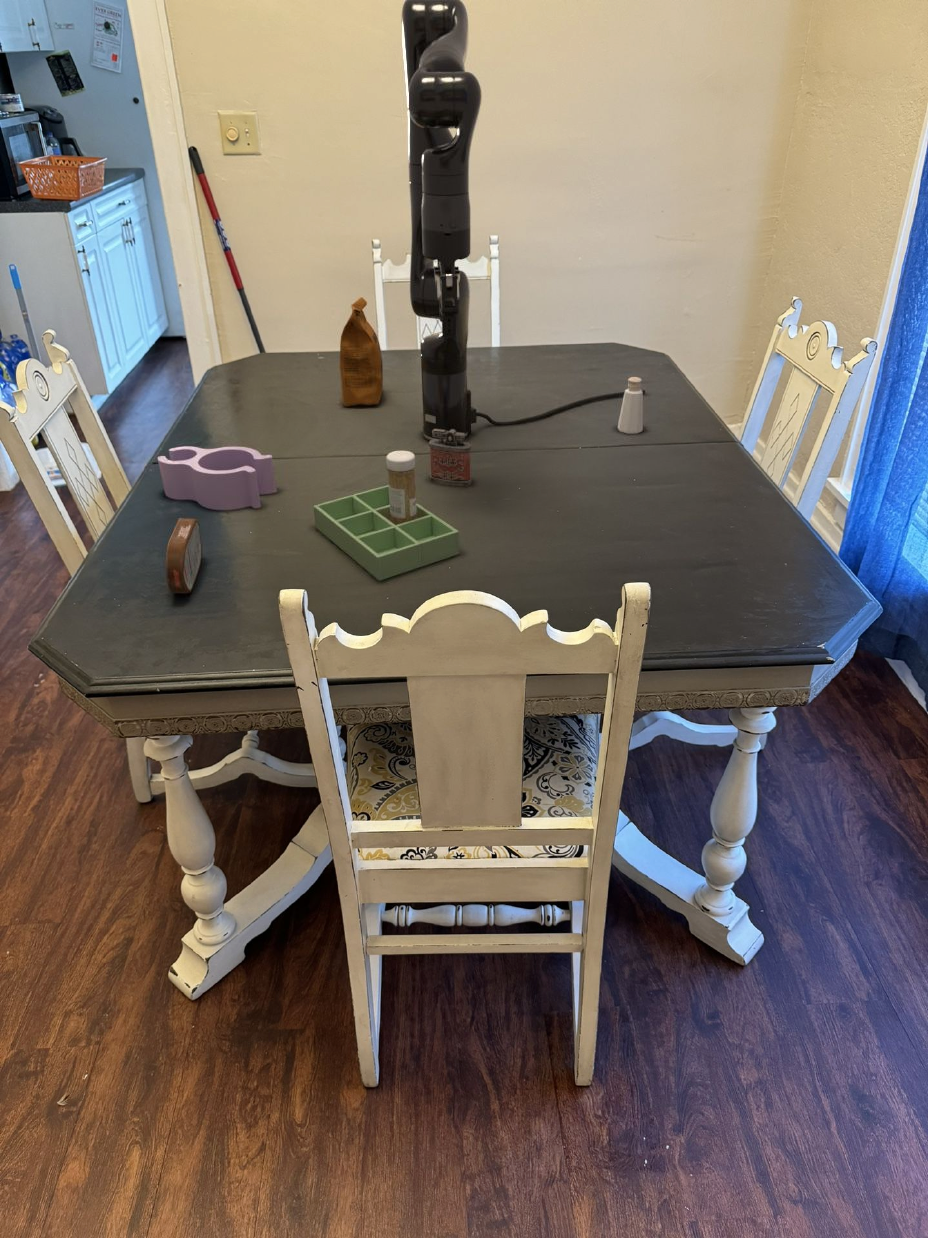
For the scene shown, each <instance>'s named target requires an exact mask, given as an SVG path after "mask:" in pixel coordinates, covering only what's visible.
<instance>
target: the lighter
mask: <svg viewBox="0 0 928 1238" xmlns="http://www.w3.org/2000/svg"><path fill="white" fill-rule="evenodd" d="M432 436H433V437H437V438H439V439H434V440H431V441H429V440H428V441H429V442H428V447H429V448H430V449H429V455H430V457H429V458H430V459H429V461H430V474H429V480H430V482H432V483H436V484H441V485H448V486H456V487H467V486H470V485H471V484H472V477H471V451H472V444H471V443H469V442H465V439H466V438H465V434H464V433H459V432H456V430H454V429H451V430H450V431H446V430H440V429H434V430H433V431H432ZM444 438H445V439H446V440H444Z"/></svg>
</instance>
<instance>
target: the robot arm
mask: <svg viewBox="0 0 928 1238" xmlns="http://www.w3.org/2000/svg"><path fill="white" fill-rule="evenodd" d="M400 22H401V42H402V57H403V67H404V77H405V79H404V80H405V91H406V104H407V107H406V108H407V136H408V137H407V153H408V154H407V155H408V156H407V158H408V159H407V160H408V161H407V162H408V164H407V165H408V187H409V202H410V224H411V225H410V227H411V230H410V232H411V243H410V244H411V245H410V268H409V298H410V305H411V309H412V311H413V313H414V314H415V315H416V316H417V317H420V318H426V319H433V320H434V319H435V320H439V322H440V323H441V331H439V332H435V333H432V334H429V335H426V336H425V337H423V338H422V339H421V342H420V369H421V396H422V397H421V399H422V424H423V426H422V429H423V430H422V436H423V438H424V439H425V440H427V441H431V440H434V439H439V438H437V437H433V436H432V431H433V430H434V429H440V430H446V431H450V430H451V429H454V430H456V432H459V433H464V434H465V439H466V438H468V436H471V435H472V424H476V423H477V421H478V419H477V417H480V418H483V419H485V420H487V422H488V423H490V424H491V425H493V426H498V427H500V426H501V427H502V426H514V425H519V424H524V423H528V422H532V421H537V420H540V419H543V418H546V417H548V416H551V415H553V414H556V413H560V412H562V411H565V410H567V409H570V408H573V407H576V406H580V405H583V404H586V403H590V402H595V401H599V400H603V399H610V398H615V397H616V398H617V397H624V393H625V391H619V392H613V393H607V394H601V395H596V396H592V397H588V398H584V399H580V400H576V401H574V402H571V403H567V404H565V405H562V406H559V407H557V408H554V409H551V410H548V411H545V412H544V413H540V414H538V415H533V416H528V417H525V418H524V417H523V418H521V419H516V420H512V421H496V420H494V419H492V418H491V417H490V416H489V415H488V414H486V413H483V412H479V411H477V408H475V407H472V391H471V390H470V389H468V354H467V353H468V340H469V326H470V325H469V321H470V320H469V319H470V301H471V300H470V299H471V298H470V297H471V290H470V281H469V277H468V275H467V273H466V272H464V271H463V270H461V269H460V267H459V266H456V264H455V263H456V262H457V261H459V260H460V261H461V260H465V259H468V257H470V256H471V201H470V192H469V191H470V155H471V147H472V143H473V138H474V137H473V136H474V134H475V129H476V126H477V122H478V118H479V114H480V112H481V111H480V110H481V106H482V98H483V97H482V96H483V95H482V88H481V85H480V82H479V80H478V78H477V77H476V76H475V74H473V73H472V72H469V71H466V68H465V64H466V59H467V56H468V55H467V54H468V49H469V33H470V31H469V16H468V12H467V8H466V5H465V4H464V2H463V1H462V0H405V1H404V2H403V4H402V8H401V21H400ZM450 129H456V131H455V135H454V136H453V134H452V132H451V131H450ZM435 261H436V264H437V265H436V266H435ZM641 390H642V392H643V395H644V394H646V390H645V389H641ZM444 440H446V439H445V438H444Z"/></svg>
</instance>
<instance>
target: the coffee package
mask: <svg viewBox="0 0 928 1238" xmlns="http://www.w3.org/2000/svg"><path fill="white" fill-rule="evenodd" d="M367 305H368V301H366V299H365V298H364V297H358V299H356V301H354V303H351V304H350V306H351V307H350V308H351V311H352V312H351V314H350V315H349V318H348V320H347V321H346V323H345V325H344V326H343V328H342V332H341V335H340V342H339V372H340V373H339V374H340V388H341V401H342V405H343V406H344V407H354V406H355V407H356V406H372V405H378V404H379V403H380V401H381V398H382V394H383V389H384V386H383V383H384V379H383V377H384V376H383V375H384V374H383V373H384V371H383V370H384V367H383V357H382V356H383V355H382V350H381V349H382V348H381V345H380V341H379V337H378V335H377V333H376V331H375V330H374V328H373V327H372V325H371V323H370V322H369V321H368V320H367V317H366V315H365V312H364V308H366V306H367Z"/></svg>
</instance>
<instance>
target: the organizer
mask: <svg viewBox="0 0 928 1238" xmlns="http://www.w3.org/2000/svg"><path fill="white" fill-rule="evenodd" d="M312 507H313V516H314V523H315V524H314V525H315V528H316V529H317V530H318V531H319V532H320V533H322V535H324V536H325V537H326V538H327V539H329V540H330V541H331V542H332V543H334V545H336V546H337V547H338V548H339V549H341V550H342V551H343V552H344V553H346V554H347V556H349V557H350V558H352V559H353V560H354V561H355V562H356V563H357V564H359V566H361V568H363V569H364V570H366V571H367V572H368V573H370V574H371V575H372V576H373V578H375V579H376V580H377V581H383V580H386V579H388V578H391V577H395V576H398V575H402V574H404V573H407V572H409V571H413V570H416V569H418V568H422V567H425V566H428V565H430V564H433V563H437V562H439V561H442V560H446V559H449V558H451V557H454V556H458V555H459V554H460V531H459V530H457V529H456V528H454V527H453V526H451V524H449V523H447V522H445V521H444V520H443V519H441V518H440V517H438V516H437V515H435V514H434V513H432V512H431V511H429V510H428V509H426V508H425V507H423V506H422V505H420V504H419V503H417V502H416V507H417V512H416V514H417V519H415V520H411V521H408V522H405V523H401V524H398V525H395V524H393V523H392V521H391V513H390V499H389V484H387V485H382V486H379V487H376V488H373V489H369V490H365V491H362V492H358V493H355V494H351V495H347V496H344V497H340V498H336V499H333V500H332V499H331V500H329V501H325V502H321V503H319V504H315V505H313V506H312Z"/></svg>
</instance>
